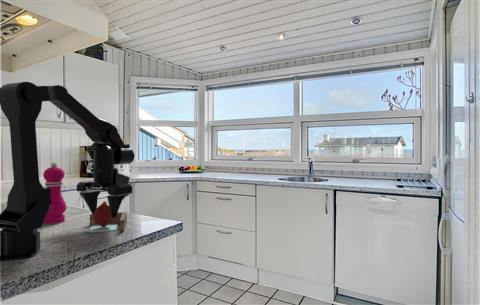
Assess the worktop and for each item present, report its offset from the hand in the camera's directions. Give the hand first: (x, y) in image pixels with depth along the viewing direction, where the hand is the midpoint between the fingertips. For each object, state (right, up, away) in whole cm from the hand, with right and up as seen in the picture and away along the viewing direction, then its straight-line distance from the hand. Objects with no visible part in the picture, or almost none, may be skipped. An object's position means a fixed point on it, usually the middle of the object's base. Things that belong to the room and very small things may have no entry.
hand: (103, 215), depth 88 cm
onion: (0, -4, 0) cm, 4 cm away
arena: (+1, -4, -1) cm, 4 cm away
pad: (0, -4, 0) cm, 4 cm away
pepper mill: (-21, -4, +8) cm, 23 cm away
